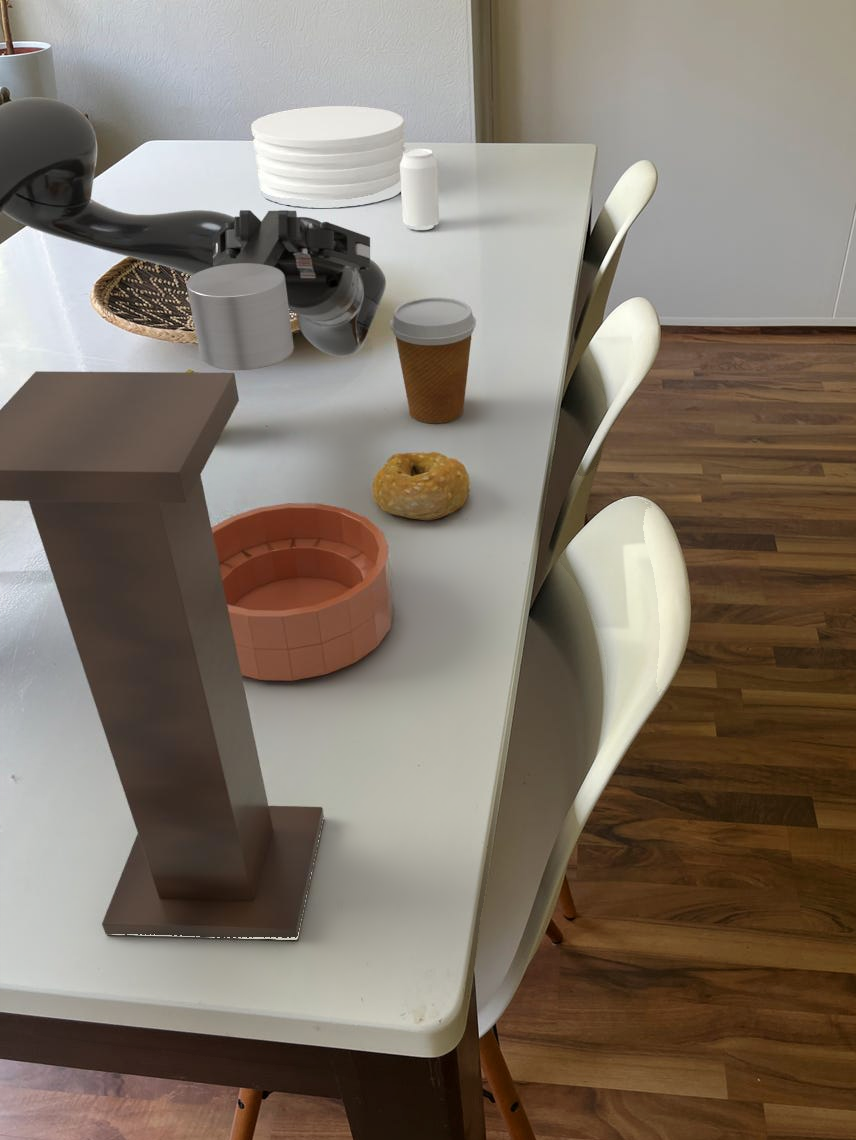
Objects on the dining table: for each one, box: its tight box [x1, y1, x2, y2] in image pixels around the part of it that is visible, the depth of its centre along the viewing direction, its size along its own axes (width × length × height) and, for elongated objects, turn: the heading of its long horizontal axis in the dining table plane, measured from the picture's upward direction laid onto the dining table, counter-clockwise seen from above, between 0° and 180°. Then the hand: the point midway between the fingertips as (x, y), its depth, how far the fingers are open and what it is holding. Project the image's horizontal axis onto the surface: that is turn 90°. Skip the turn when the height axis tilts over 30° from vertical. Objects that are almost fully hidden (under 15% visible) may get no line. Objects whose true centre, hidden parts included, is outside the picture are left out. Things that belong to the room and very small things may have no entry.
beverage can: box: [400, 148, 440, 227], centre depth 172 cm, size 6×6×12 cm
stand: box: [0, 370, 325, 938], centre depth 57 cm, size 12×10×32 cm
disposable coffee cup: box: [389, 296, 477, 424], centre depth 116 cm, size 10×10×12 cm
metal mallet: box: [186, 210, 298, 371], centre depth 74 cm, size 6×19×5 cm, turn 178°
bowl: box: [211, 502, 395, 682], centre depth 86 cm, size 17×17×7 cm
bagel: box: [371, 451, 471, 521], centre depth 102 cm, size 10×11×5 cm
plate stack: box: [250, 105, 406, 201], centre depth 192 cm, size 28×28×12 cm
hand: (263, 224), depth 74 cm, fingers closed on metal mallet
